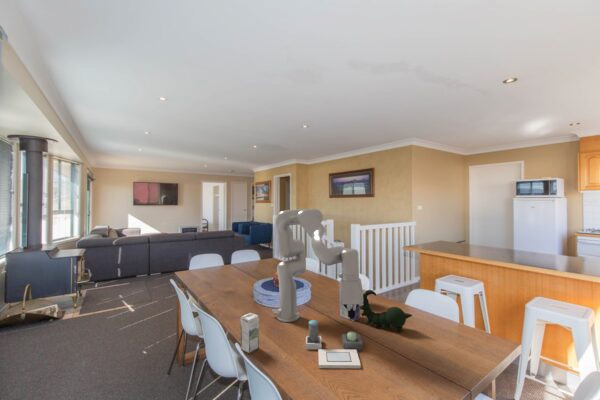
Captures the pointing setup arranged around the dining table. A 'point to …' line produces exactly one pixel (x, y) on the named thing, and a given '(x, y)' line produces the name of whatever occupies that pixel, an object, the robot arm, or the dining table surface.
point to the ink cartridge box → (345, 313)
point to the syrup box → (249, 332)
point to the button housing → (352, 343)
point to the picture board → (338, 358)
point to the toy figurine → (384, 315)
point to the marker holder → (313, 344)
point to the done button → (351, 336)
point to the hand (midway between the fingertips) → (351, 318)
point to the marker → (313, 331)
